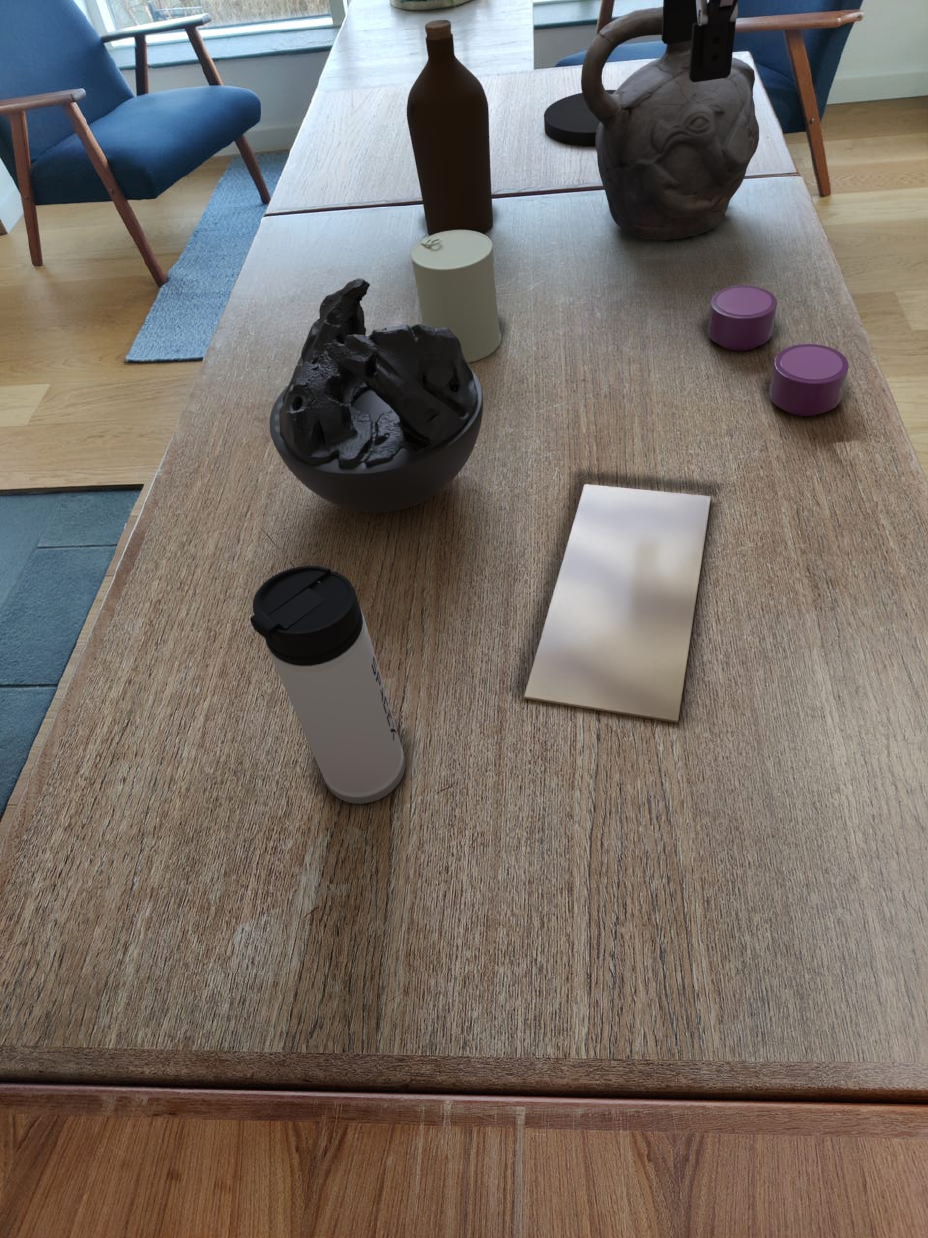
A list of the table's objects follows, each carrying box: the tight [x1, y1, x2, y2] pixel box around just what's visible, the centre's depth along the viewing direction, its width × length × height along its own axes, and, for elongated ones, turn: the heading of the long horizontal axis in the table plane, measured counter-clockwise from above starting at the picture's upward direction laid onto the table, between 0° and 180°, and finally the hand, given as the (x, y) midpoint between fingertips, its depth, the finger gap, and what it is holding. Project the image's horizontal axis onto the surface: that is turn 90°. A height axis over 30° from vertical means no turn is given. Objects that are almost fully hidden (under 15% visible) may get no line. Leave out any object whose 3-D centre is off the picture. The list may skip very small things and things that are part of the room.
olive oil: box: [406, 19, 494, 236], centre depth 116 cm, size 11×11×25 cm
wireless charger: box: [543, 89, 617, 147], centre depth 144 cm, size 18×18×2 cm
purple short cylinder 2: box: [768, 343, 850, 417], centre depth 90 cm, size 7×7×5 cm
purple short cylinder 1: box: [707, 284, 778, 352], centre depth 98 cm, size 7×7×5 cm
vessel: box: [580, 6, 760, 241], centre depth 108 cm, size 24×22×30 cm
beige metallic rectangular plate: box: [523, 483, 712, 724], centre depth 77 cm, size 26×12×1 cm, turn 164°
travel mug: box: [249, 565, 406, 805], centre depth 60 cm, size 6×7×20 cm
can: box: [410, 230, 502, 364], centre depth 101 cm, size 9×9×12 cm
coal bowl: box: [269, 277, 484, 513], centre depth 82 cm, size 20×20×19 cm
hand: (694, 58), depth 74 cm, fingers open, 9 cm apart
